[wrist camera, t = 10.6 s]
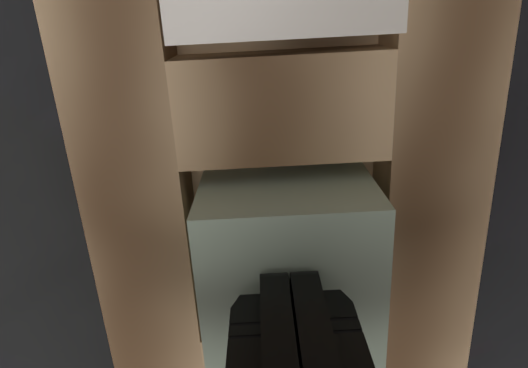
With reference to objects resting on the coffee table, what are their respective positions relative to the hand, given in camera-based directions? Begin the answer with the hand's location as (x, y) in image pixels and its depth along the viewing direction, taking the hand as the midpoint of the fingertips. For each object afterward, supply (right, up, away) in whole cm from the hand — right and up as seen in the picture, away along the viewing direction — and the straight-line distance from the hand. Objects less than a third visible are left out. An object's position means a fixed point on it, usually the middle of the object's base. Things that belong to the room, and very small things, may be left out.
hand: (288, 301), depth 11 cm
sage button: (0, +1, +4) cm, 4 cm away
